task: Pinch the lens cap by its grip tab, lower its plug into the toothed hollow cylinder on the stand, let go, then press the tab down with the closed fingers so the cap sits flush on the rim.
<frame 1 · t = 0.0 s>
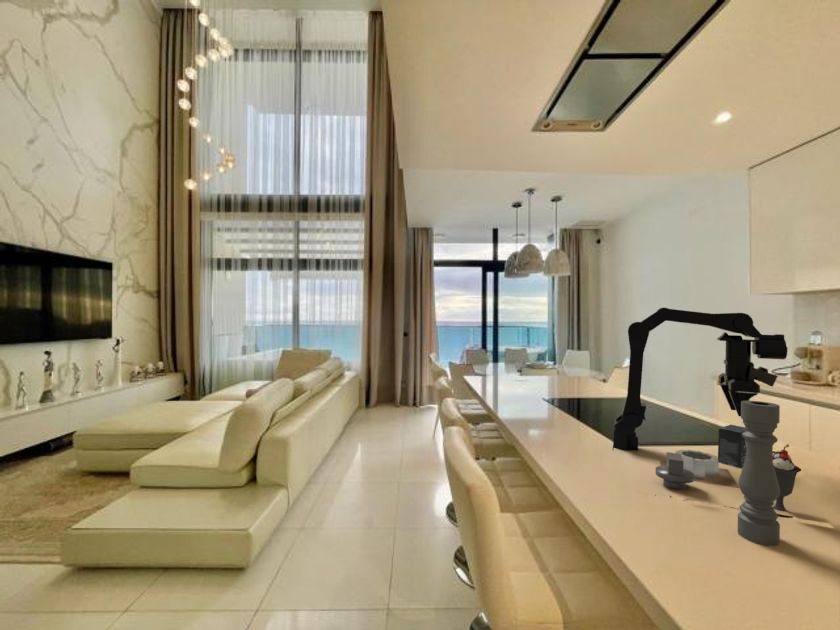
hand: (737, 413, 121), 15 cm above the kitchen island, fingers open, 9 cm apart
box: (734, 466, 121), on the kitchen island
sundae: (779, 513, 91), on the kitchen island
candle holder: (758, 537, 81), on the kitchen island
toothed hollow cylinder: (696, 472, 112), resting on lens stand
lens cap: (674, 489, 103), on the kitchen island
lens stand: (696, 475, 112), on the kitchen island
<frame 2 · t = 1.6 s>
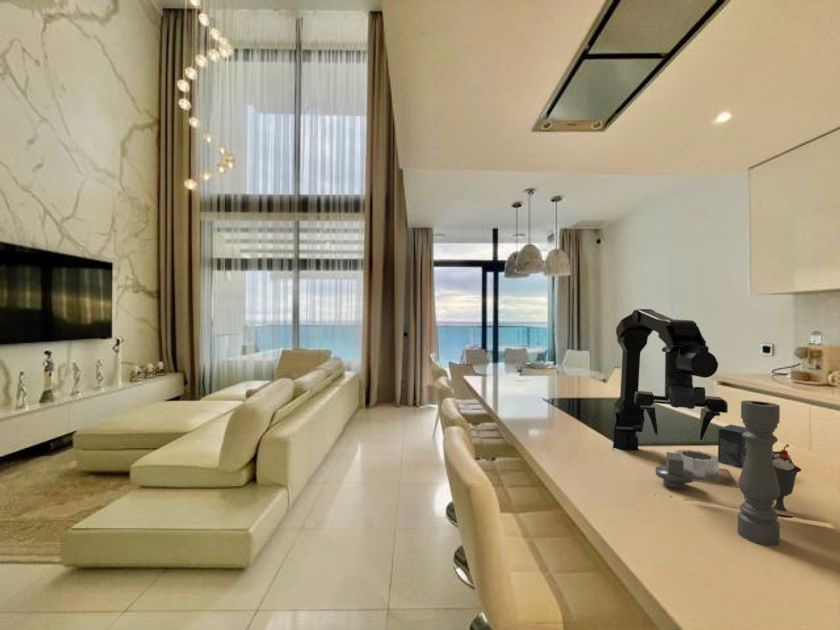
hand: (677, 437, 103), 12 cm above the kitchen island, fingers open, 9 cm apart
nothing on the kitchen island moved.
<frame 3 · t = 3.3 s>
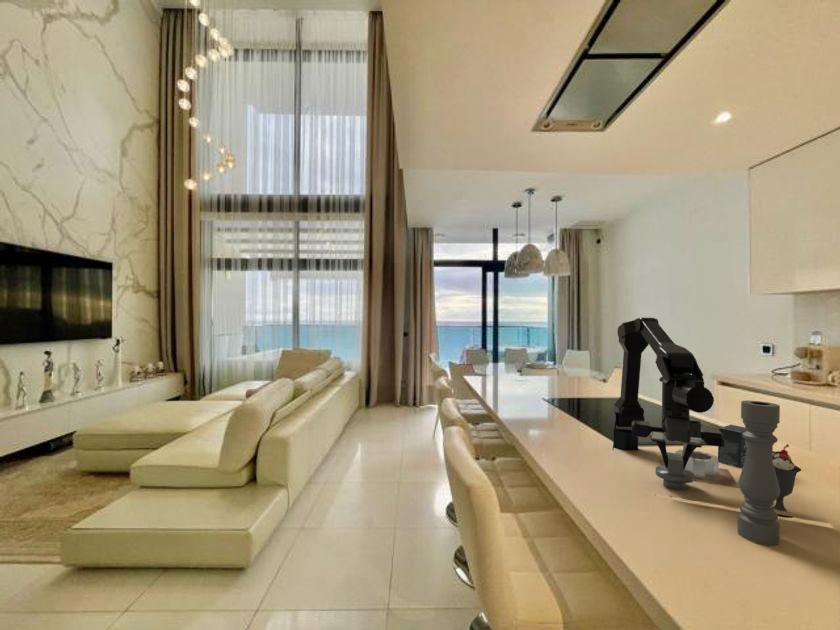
hand: (674, 468, 103), 5 cm above the kitchen island, fingers closed on lens cap, 3 cm apart
lens cap: (674, 489, 103), on the kitchen island, touching gripper
everything else where it was.
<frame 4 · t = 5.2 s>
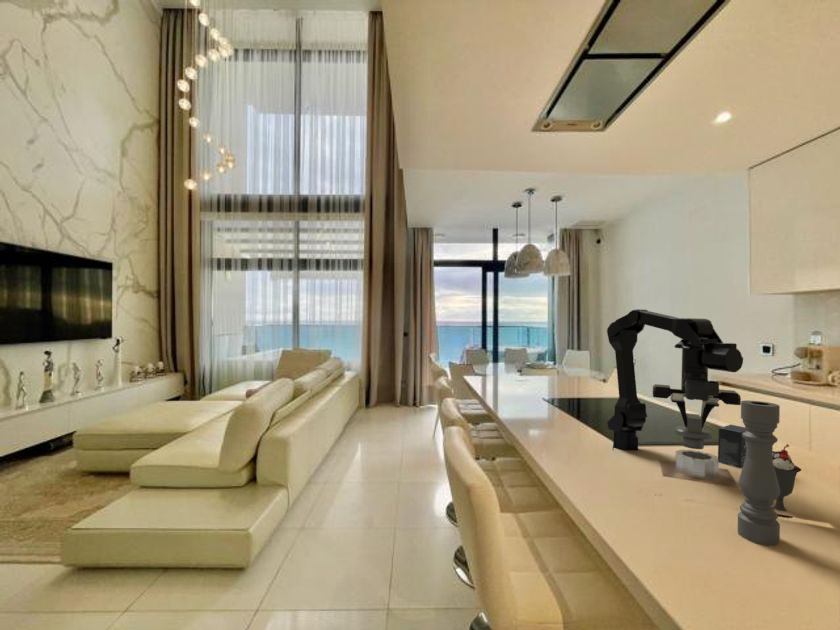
hand: (693, 427, 111), 13 cm above the kitchen island, fingers closed on lens cap, 3 cm apart
lens cap: (692, 446, 111), point 8 cm above the kitchen island, touching gripper
everything else where it was.
when the fingers open (8 cm above the kitchen island, at t = 7.2 s): lens cap stays where it is, resting on toothed hollow cylinder.
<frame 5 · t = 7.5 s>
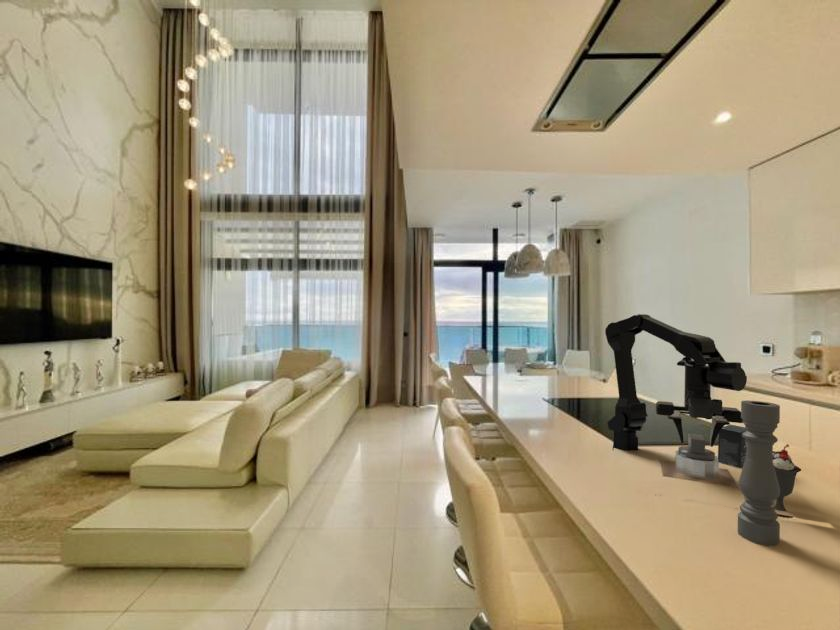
hand: (696, 444, 112), 8 cm above the kitchen island, fingers open, 6 cm apart
lens cap: (696, 466, 112), point 2 cm above the kitchen island, touching toothed hollow cylinder
everything else where it was.
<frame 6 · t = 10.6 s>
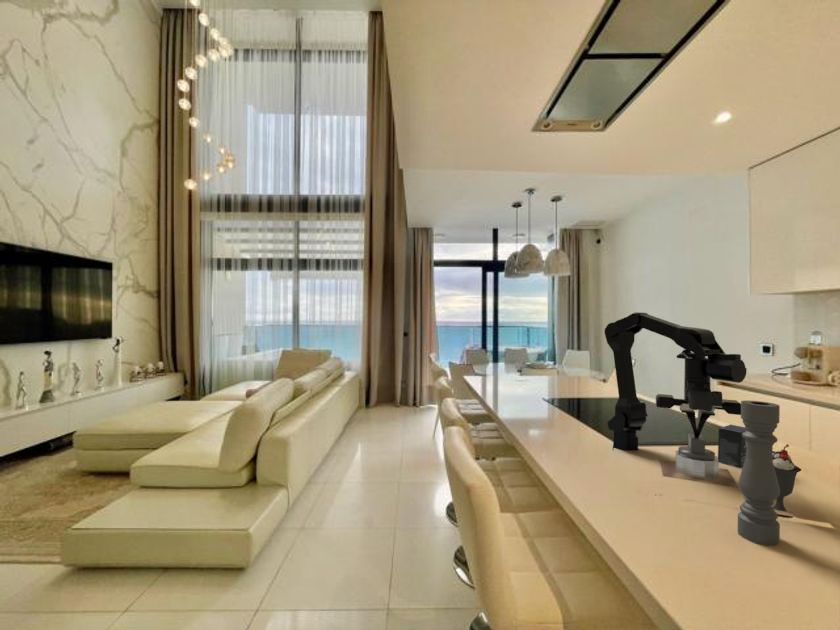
hand: (696, 437, 112), 10 cm above the kitchen island, fingers closed, pressing on lens cap
lens cap: (696, 466, 112), point 2 cm above the kitchen island, touching gripper, toothed hollow cylinder
everything else where it was.
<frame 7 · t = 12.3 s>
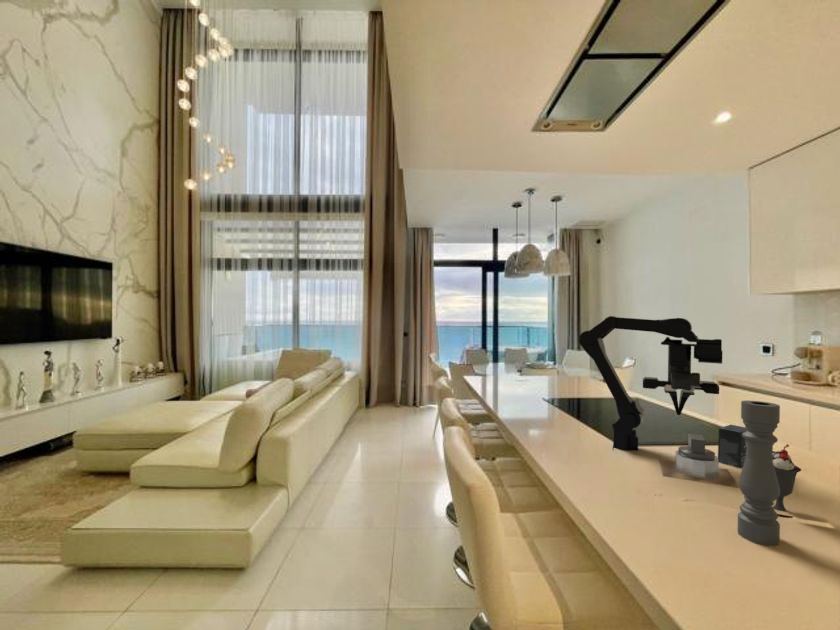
hand: (678, 414, 125), 13 cm above the kitchen island, fingers closed
lens cap: (696, 466, 112), point 2 cm above the kitchen island, touching toothed hollow cylinder
everything else where it was.
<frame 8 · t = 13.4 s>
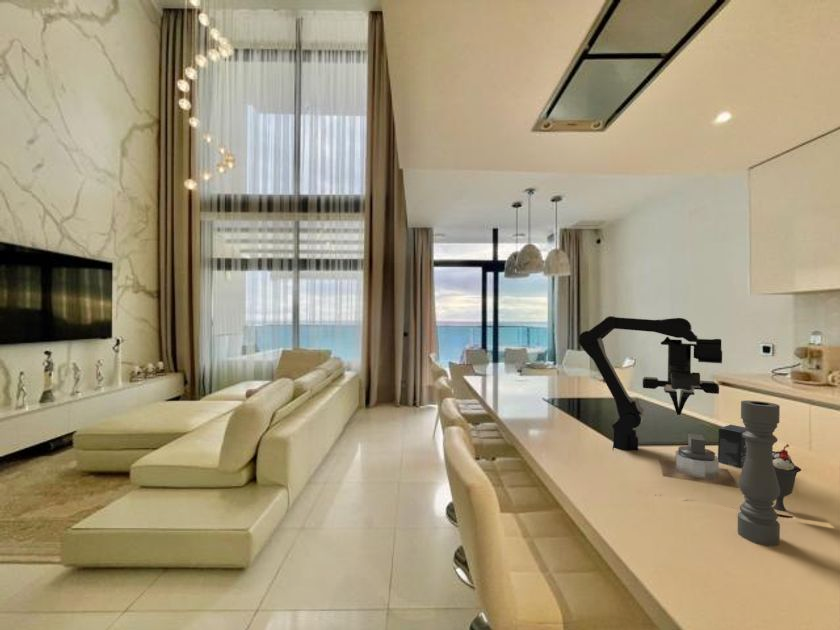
hand: (678, 414, 125), 13 cm above the kitchen island, fingers closed
nothing on the kitchen island moved.
at the end: lens cap 0.0 cm off-centre on the toothed hollow cylinder, point 1.5 cm above the toothed hollow cylinder's base; lens cap tilted 0°; the gripper is holding nothing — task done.
